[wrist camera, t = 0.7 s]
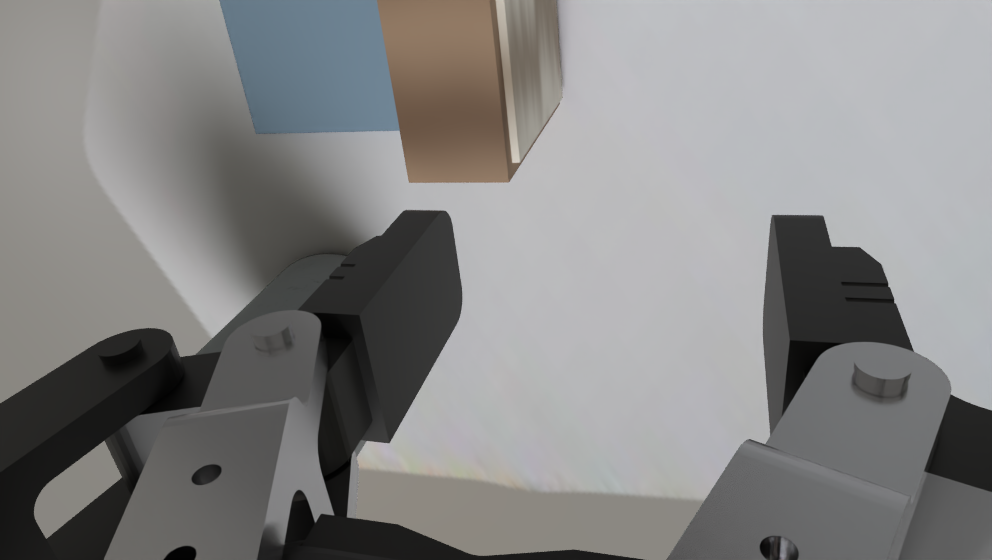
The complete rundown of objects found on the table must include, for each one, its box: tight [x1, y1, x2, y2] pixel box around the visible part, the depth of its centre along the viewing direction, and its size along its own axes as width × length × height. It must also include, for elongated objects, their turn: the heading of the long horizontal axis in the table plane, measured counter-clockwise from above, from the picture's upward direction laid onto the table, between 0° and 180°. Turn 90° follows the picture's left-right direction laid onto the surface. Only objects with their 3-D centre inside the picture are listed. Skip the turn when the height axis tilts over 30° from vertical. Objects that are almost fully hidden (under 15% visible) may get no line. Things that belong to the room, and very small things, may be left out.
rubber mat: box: [219, 0, 400, 134], centre depth 36 cm, size 10×12×1 cm
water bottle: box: [196, 254, 366, 457], centre depth 34 cm, size 10×10×28 cm
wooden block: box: [377, 0, 563, 183], centre depth 30 cm, size 8×4×10 cm, turn 6°
